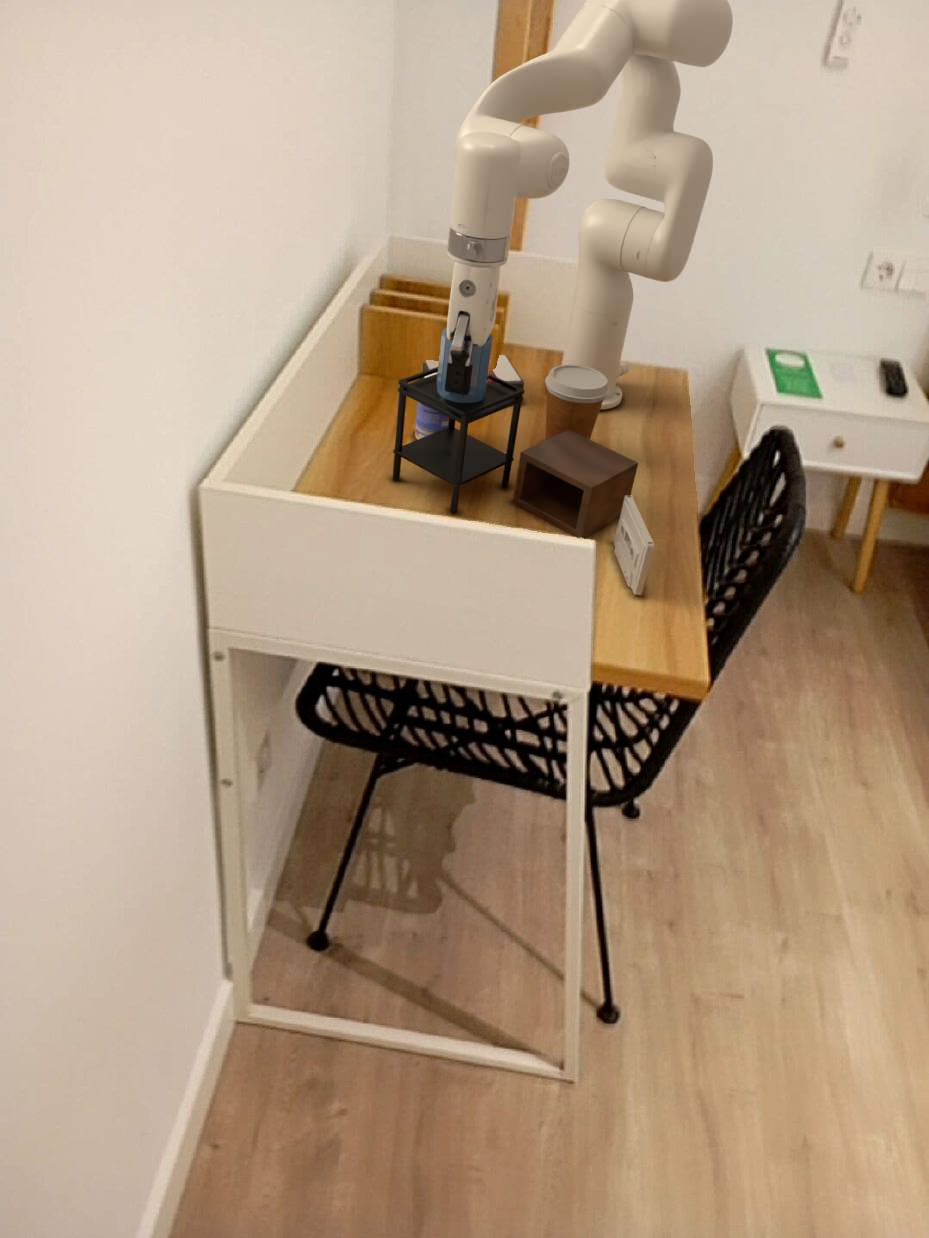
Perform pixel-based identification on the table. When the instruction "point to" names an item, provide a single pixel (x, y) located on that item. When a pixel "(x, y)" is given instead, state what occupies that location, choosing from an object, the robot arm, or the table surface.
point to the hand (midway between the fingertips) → (462, 380)
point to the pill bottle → (429, 420)
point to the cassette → (633, 546)
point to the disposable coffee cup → (574, 399)
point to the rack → (456, 434)
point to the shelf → (574, 482)
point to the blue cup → (479, 370)
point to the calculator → (501, 371)
